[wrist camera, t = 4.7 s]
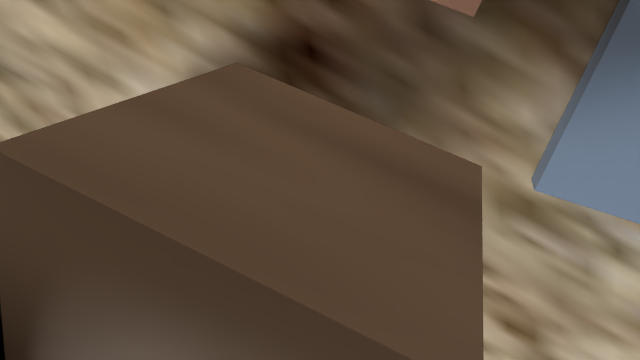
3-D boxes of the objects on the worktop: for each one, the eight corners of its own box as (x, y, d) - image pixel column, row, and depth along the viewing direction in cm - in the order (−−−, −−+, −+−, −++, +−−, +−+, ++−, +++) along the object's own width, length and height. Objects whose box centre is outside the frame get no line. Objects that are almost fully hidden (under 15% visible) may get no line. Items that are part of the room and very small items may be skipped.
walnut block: (339, 417, 12) (256, 675, 7) (179, 332, 12) (17, 519, 8) (481, 166, 8) (484, 394, 3) (236, 63, 9) (-13, 146, 4)
